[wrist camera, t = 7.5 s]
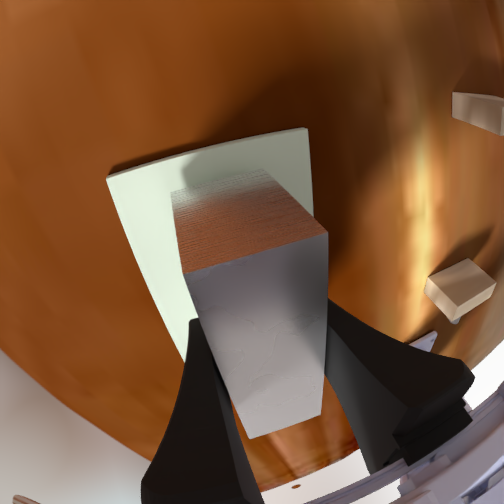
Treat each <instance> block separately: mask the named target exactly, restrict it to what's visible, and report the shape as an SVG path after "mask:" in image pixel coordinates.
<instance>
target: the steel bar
mask: <svg viewBox="0 0 504 504" xmlns="http://www.w3.org/2000/svg"><path fill="white" fill-rule="evenodd" d="M170 195H171V203H172V210H173V217H174V224H175V230H176V237H177V243H178V250H179V256H180V262H181V267H182V273H183V277H184V279H185V282H186V285H187V288H188V291H189V293H190V296H191V299H192V302H193V304H194V307H195V310H196V312H197V315H198V318H199V320H200V323H201V326H202V328H203V331H204V333H205V336H206V339H207V341H208V344H209V346H210V349H211V351H212V354H213V356H214V359H215V361H216V364H217V366H218V368H219V371H220V373H221V376H222V378H223V380H224V383H225V385H226V387H227V390H228V392H229V394H230V397H231V399H232V401H233V404H234V406H235V408H236V410H237V413H238V415H239V417H240V419H241V422H242V424H243V426H244V428H245V430H246V432H247V435H248V437H249V439H251V438H255V437H258V436H261V435H264V434H268V433H271V432H274V431H277V430H280V429H283V428H285V427H288V426H291V425H294V424H297V423H299V422H302V421H305V420H307V419H310V418H313V417H315V416H318V415H320V414H321V405H322V393H323V381H324V366H325V350H326V331H327V304H328V232H327V231H326V230H325V229H324V228H323V227H322V226H321V224H320V223H319V222H318V221H317V220H316V219H315V218H314V217H313V216H312V215H311V214H310V213H309V212H308V211H307V210H306V209H305V208H304V207H303V206H302V205H301V204H300V203H299V202H298V201H297V200H296V199H295V198H294V197H293V196H292V195H290V194H289V193H288V192H287V191H286V190H285V189H284V188H283V187H282V186H281V185H280V184H279V183H278V182H277V181H276V180H275V179H274V178H273V177H272V176H271V175H270V174H269V173H268V172H267V171H266V170H264V169H263V168H262V169H258V170H254V171H249V172H245V173H241V174H237V175H233V176H229V177H225V178H221V179H217V180H213V181H209V182H205V183H202V184H198V185H194V186H190V187H187V188H183V189H180V190H176V191H173V192H170Z"/></svg>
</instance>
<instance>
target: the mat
mask: <svg viewBox="0 0 504 504" xmlns="http://www.w3.org/2000/svg"><path fill="white" fill-rule="evenodd" d="M262 168H263V169H264V170H266V171H267V172H268V173H269V174H270V175H271V176H272V177H273V178H274V179H275V180H276V181H277V182H278V183H279V184H280V185H281V186H282V187H283V188H284V189H285V190H286V191H287V192H288V193H289V194H290V195H292V196H293V197H294V198H295V199H296V200H297V201H298V202H299V203H300V204H301V205H302V206H303V207H304V208H305V209H306V210H307V211H308V212H309V213H310V214H311V215H312V216H313V217H314V215H313V196H312V179H311V164H310V151H309V139H308V129H306V128H304V127H302V128H296V129H290V130H284V131H279V132H273V133H268V134H263V135H258V136H253V137H248V138H243V139H238V140H234V141H229V142H225V143H221V144H216V145H212V146H208V147H204V148H200V149H196V150H192V151H188V152H184V153H181V154H177V155H173V156H170V157H166V158H163V159H159V160H156V161H152V162H149V163H146V164H142V165H139V166H136V167H133V168H129V169H126V170H123V171H120V172H117V173H114V174H111V175H108V176H107V178H106V180H107V183H108V186H109V189H110V192H111V195H112V198H113V201H114V203H115V206H116V209H117V212H118V214H119V217H120V220H121V222H122V225H123V228H124V230H125V233H126V235H127V238H128V240H129V243H130V245H131V248H132V250H133V253H134V255H135V258H136V260H137V263H138V265H139V267H140V270H141V272H142V274H143V277H144V279H145V281H146V283H147V286H148V288H149V290H150V292H151V295H152V297H153V299H154V301H155V303H156V306H157V308H158V310H159V312H160V314H161V316H162V318H163V320H164V322H165V324H166V327H167V329H168V331H169V333H170V335H171V337H172V339H173V341H174V343H175V345H176V347H177V349H178V350H179V352H180V354H181V356H182V358H183V360H184V362H185V359H186V352H187V344H188V331H189V323H188V322H189V321H190V320H191V319H194V318H198V315H197V312H196V310H195V307H194V304H193V302H192V299H191V296H190V293H189V291H188V288H187V285H186V282H185V279H184V277H183V273H182V267H181V262H180V256H179V250H178V243H177V237H176V230H175V224H174V217H173V210H172V203H171V195H170V192H173V191H176V190H180V189H183V188H187V187H190V186H194V185H198V184H202V183H205V182H209V181H213V180H217V179H221V178H225V177H229V176H233V175H237V174H241V173H245V172H249V171H254V170H258V169H262Z"/></svg>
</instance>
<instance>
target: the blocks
mask: <svg viewBox="0 0 504 504" xmlns="http://www.w3.org/2000/svg"><path fill="white" fill-rule="evenodd" d="M452 117H453V118H456V119H459V120H461V121H464V122H467V123H470V124H472V125H475V126H478V127H480V128H483V129H485V130H488V131H490V132H493V133H495V134H497V135H500V136H502V135H504V99H503V98H500V97H497V96H492V95H483V94H473V93H460V92H452ZM495 285H496V282H495V281H494V280H493V279H492V278H491V277H490V276H489V275H488V274H486V273H485V272H484V271H483V270H482V269H481V268H480V267H478V266H477V265H476V264H475V263H474V262H472V261H471V260H470V259H469V258H467V259H465V260H463V261H461V262H459V263H457V264H455V265H453V266H451V267H449V268H446V269H444V270H442V271H440V272H438V273H436V274H434V275H432V276H429V277H428V278H427V282H426V286H425V290H424V293H425V294H426V295H427V296H428V297H429V298H430V299H431V300H432V301H433V302H434V303H435V304H436V306H437V307H438V308H439V309H440V310H441V311H442V312H443V313H444V314H445V315H446V316H447V317H448V319H449V321H450V322H451V323H452V324H457V323H458V322H459V320H460V318H461V316H462V315H464V314H465V313H467V312H468V311H470V310H471V309H473V308H474V307H476V306H478V305H479V304H481V303H482V302H484V301H485V300H487V299H488V298H489V297H491V294H492V292H493V290H494V287H495Z"/></svg>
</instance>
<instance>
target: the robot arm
mask: <svg viewBox="0 0 504 504" xmlns="http://www.w3.org/2000/svg"><path fill="white" fill-rule="evenodd" d="M188 323H189V331H188V344H187V352H186V359H185V365H184V371H183V375H182V380H181V384H180V389H179V393H178V396H177V400H176V403H175V407H174V410H173V413H172V416H171V418H170V421H169V424H168V427H167V429H166V432H165V434H164V437H163V439H162V441H161V443H160V446H159V448H158V450H157V452H156V454H155V456H154V458H153V460H152V462H151V464H150V466H149V468H148V470H147V471H146V473H145V475H144V477H143V479H142V481H141V503H142V504H265V503H264V501H263V498H262V496H261V493H260V491H259V488H258V486H257V483H256V480H255V478H254V475H253V472H252V470H251V467H250V464H249V461H248V459H247V456H246V453H245V450H244V447H243V444H242V441H241V438H240V435H239V432H238V429H237V426H236V423H235V419H234V414H233V410H232V405H231V400H230V395H229V392H228V390H227V387H226V385H225V383H224V380H223V378H222V376H221V373H220V371H219V368H218V366H217V364H216V361H215V359H214V356H213V354H212V351H211V349H210V346H209V344H208V341H207V339H206V336H205V333H204V331H203V328H202V326H201V323H200V320H199V318H194V319H191V320H190V321H189V322H188ZM436 337H437V332H436V331H433V332H431V333H429V334H427V335H425V336H424V337H422V338H420V339H418V340H416V341H414V342H412V343H411V344H409V345H408V344H405V343H403V342H400V341H398V340H396V339H394V338H391V337H389V336H387V335H385V334H383V333H381V332H379V331H377V330H376V329H374V328H372V327H370V326H369V325H367V324H365V323H364V322H362V321H360V320H359V319H357V318H356V317H354V316H353V315H351V314H350V313H348V312H347V311H345V310H344V309H342V308H341V307H339V306H338V305H337V304H335V303H334V302H333V301H331V300H330V299H329V298H328V304H327V331H326V350H325V366H324V374H325V376H326V377H327V379H328V380H329V382H330V384H331V385H332V387H333V389H334V391H335V393H336V395H337V397H338V399H339V401H340V403H341V405H342V408H343V410H344V412H345V414H346V416H347V419H348V421H349V423H350V426H351V428H352V430H353V433H354V435H355V438H356V440H357V442H358V445H359V447H360V450H361V453H362V455H363V458H364V460H365V463H366V466H367V469H368V471H369V473H370V476H368V477H366V478H364V479H362V480H360V481H357V482H355V483H353V484H351V485H349V486H347V487H344V488H342V489H340V490H337V491H335V492H333V493H330V494H328V495H325V496H323V497H320V498H317V499H315V500H312V501H310V502H307V503H304V504H349V503H352V502H354V501H356V500H358V499H360V498H363V497H365V496H366V495H369V494H371V493H373V492H375V491H377V490H379V489H381V488H382V487H384V486H386V485H388V484H390V483H392V482H394V481H395V480H397V479H399V478H400V485H399V486H398V487H397V489H398V490H399V492H400V494H401V497H400V498H398V499H397V500H395V501H393V502H391V503H389V504H504V381H503V382H502V383H501V385H500V386H499V387H498V389H497V390H496V391H495V392H494V393H493V394H492V395H491V396H489V397H488V398H487V399H486V400H485V401H484V402H482V403H481V404H480V405H479V406H477V407H476V408H475V409H474V410H472V408H471V407H470V406H469V404H468V403H467V402H466V400H465V399H464V398H463V396H464V395H465V393H466V392H467V391H468V389H469V388H470V387H471V385H472V384H473V382H474V379H475V376H474V375H473V373H472V372H471V371H470V369H469V368H468V367H467V366H466V365H465V363H464V362H463V361H462V360H460V359H455V358H451V357H446V356H442V355H438V354H434V353H431V352H430V350H431V348H432V346H433V344H434V341H435V339H436Z"/></svg>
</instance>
